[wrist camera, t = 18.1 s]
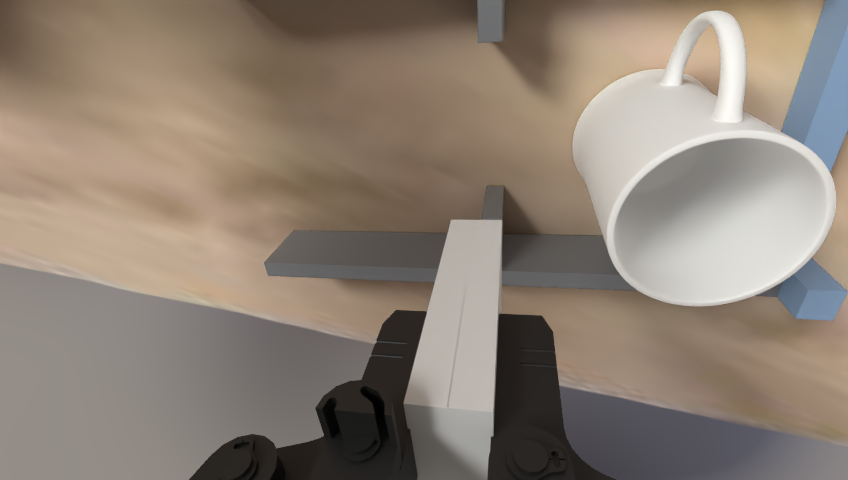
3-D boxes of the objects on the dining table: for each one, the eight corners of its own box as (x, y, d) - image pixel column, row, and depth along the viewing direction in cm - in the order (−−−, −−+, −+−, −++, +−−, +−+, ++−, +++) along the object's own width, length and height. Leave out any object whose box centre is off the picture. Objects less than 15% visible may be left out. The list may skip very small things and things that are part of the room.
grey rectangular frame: (220, -37, 27) (164, -42, 22) (866, -121, 20) (961, -150, 15) (296, 242, 37) (268, 275, 33) (740, 252, 30) (777, 296, 26)
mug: (601, 2, 24) (661, 12, 14) (768, 9, 23) (967, 26, 13) (560, 192, 30) (580, 296, 20) (689, 206, 29) (781, 325, 19)
